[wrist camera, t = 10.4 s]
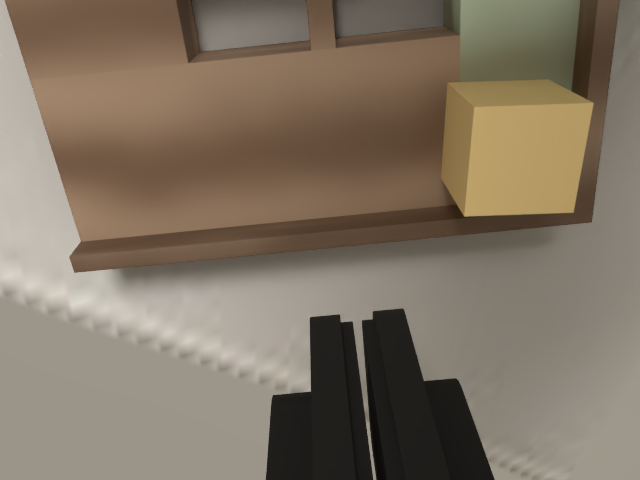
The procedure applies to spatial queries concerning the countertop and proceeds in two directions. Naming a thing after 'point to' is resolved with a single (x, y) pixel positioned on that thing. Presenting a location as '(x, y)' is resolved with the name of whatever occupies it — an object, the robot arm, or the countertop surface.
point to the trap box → (284, 123)
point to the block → (514, 146)
